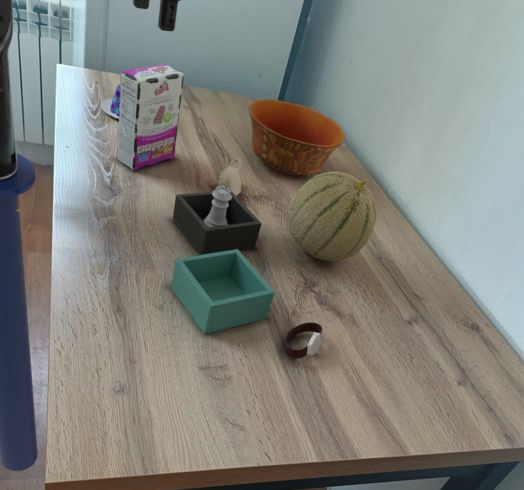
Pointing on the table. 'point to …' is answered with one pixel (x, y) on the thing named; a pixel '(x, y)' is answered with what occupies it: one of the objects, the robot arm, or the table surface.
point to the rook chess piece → (218, 207)
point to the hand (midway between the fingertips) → (153, 18)
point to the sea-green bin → (221, 290)
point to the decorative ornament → (231, 178)
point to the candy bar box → (148, 115)
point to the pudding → (112, 104)
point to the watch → (312, 344)
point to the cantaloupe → (332, 216)
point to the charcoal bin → (220, 237)
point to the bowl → (292, 136)
